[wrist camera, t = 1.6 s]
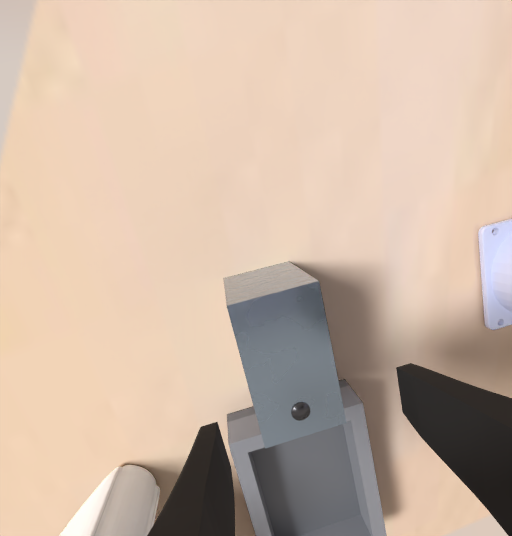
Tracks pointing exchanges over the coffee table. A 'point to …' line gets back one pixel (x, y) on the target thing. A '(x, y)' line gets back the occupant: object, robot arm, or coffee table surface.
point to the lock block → (285, 351)
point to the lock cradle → (309, 477)
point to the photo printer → (118, 505)
